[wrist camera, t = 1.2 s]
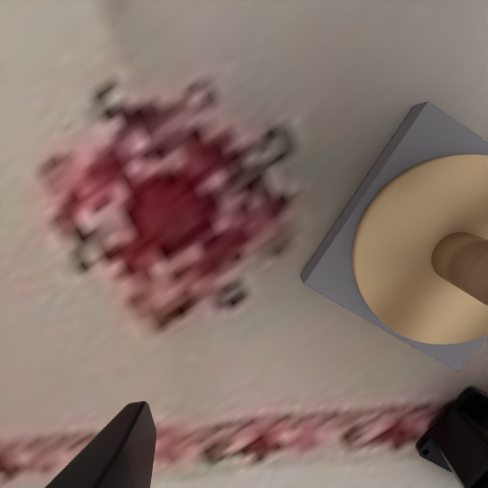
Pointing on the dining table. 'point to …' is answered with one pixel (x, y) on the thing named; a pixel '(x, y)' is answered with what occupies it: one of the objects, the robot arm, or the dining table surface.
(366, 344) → the dining table surface
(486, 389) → the dining table surface
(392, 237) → the lid
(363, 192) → the mat
